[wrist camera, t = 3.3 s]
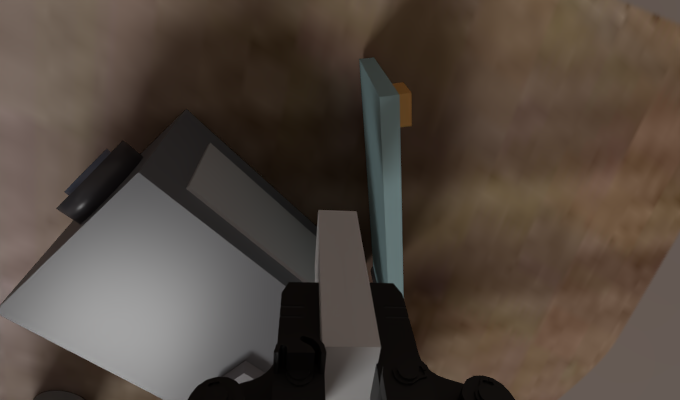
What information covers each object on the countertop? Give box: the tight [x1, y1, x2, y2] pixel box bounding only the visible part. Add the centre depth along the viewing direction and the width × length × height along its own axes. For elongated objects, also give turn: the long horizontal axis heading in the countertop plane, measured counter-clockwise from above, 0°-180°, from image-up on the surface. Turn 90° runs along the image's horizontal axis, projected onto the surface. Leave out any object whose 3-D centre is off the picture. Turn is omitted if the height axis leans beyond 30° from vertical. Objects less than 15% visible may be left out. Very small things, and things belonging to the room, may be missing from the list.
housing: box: [0, 109, 317, 400], centre depth 24 cm, size 17×11×9 cm, turn 40°
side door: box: [359, 57, 412, 298], centre depth 24 cm, size 16×2×7 cm, turn 5°
